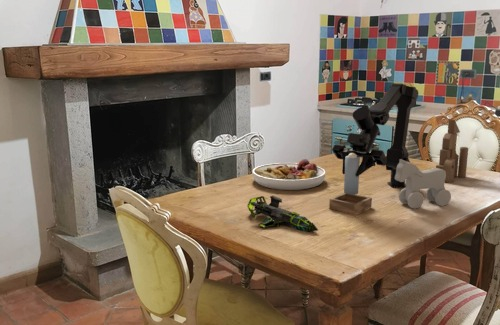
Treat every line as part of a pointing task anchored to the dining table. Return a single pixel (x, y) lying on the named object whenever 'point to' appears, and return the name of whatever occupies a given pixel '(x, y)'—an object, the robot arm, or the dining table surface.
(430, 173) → the pony
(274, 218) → the aircraft
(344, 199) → the square wooden tray
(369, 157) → the robot arm
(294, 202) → the dining table surface
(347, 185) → the blue bottle
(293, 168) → the bowl
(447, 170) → the wooden toy
